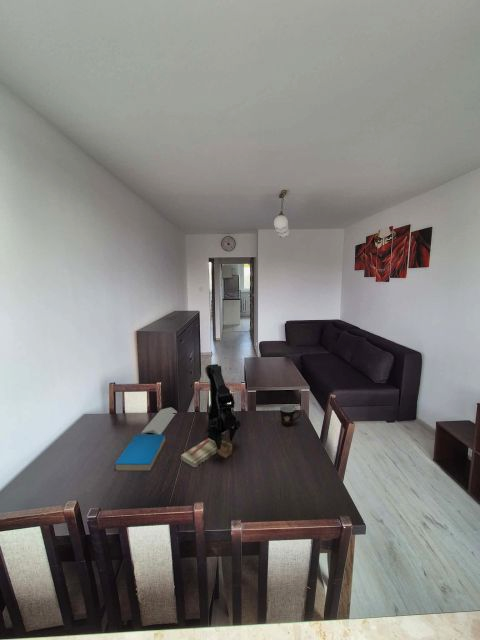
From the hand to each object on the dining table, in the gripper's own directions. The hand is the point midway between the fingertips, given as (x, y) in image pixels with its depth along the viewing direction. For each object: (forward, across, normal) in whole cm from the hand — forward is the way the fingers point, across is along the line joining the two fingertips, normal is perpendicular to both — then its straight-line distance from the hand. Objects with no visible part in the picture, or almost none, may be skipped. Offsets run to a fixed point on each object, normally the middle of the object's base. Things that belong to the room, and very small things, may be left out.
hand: (225, 445), depth 141 cm
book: (+5, +26, -33) cm, 43 cm away
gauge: (+5, 0, 0) cm, 5 cm away
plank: (+5, +6, -9) cm, 12 cm away
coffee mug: (+5, -45, +12) cm, 47 cm away
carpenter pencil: (+2, +7, -11) cm, 13 cm away
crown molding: (+6, +1, -54) cm, 54 cm away
